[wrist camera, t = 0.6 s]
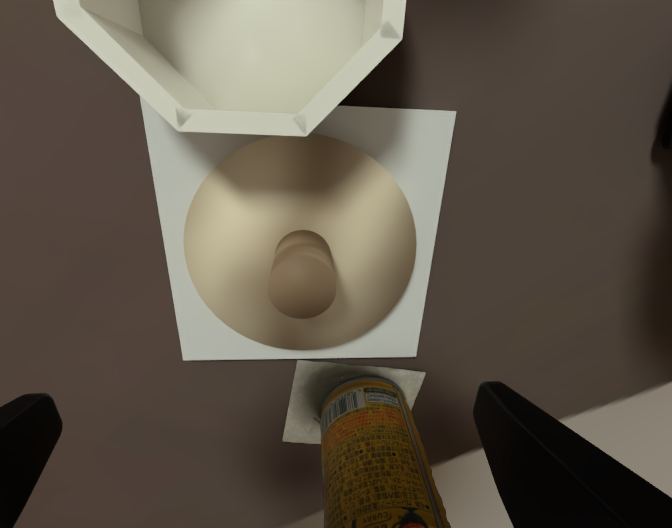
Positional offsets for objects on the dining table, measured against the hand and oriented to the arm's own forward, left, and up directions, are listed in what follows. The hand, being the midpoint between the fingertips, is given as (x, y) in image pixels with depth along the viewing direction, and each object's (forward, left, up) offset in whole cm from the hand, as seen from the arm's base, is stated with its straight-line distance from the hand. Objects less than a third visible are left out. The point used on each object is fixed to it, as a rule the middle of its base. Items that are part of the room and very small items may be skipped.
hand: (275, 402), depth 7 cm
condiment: (-4, +13, -12) cm, 18 cm away
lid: (0, +1, -11) cm, 11 cm away
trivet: (0, +1, -12) cm, 12 cm away
